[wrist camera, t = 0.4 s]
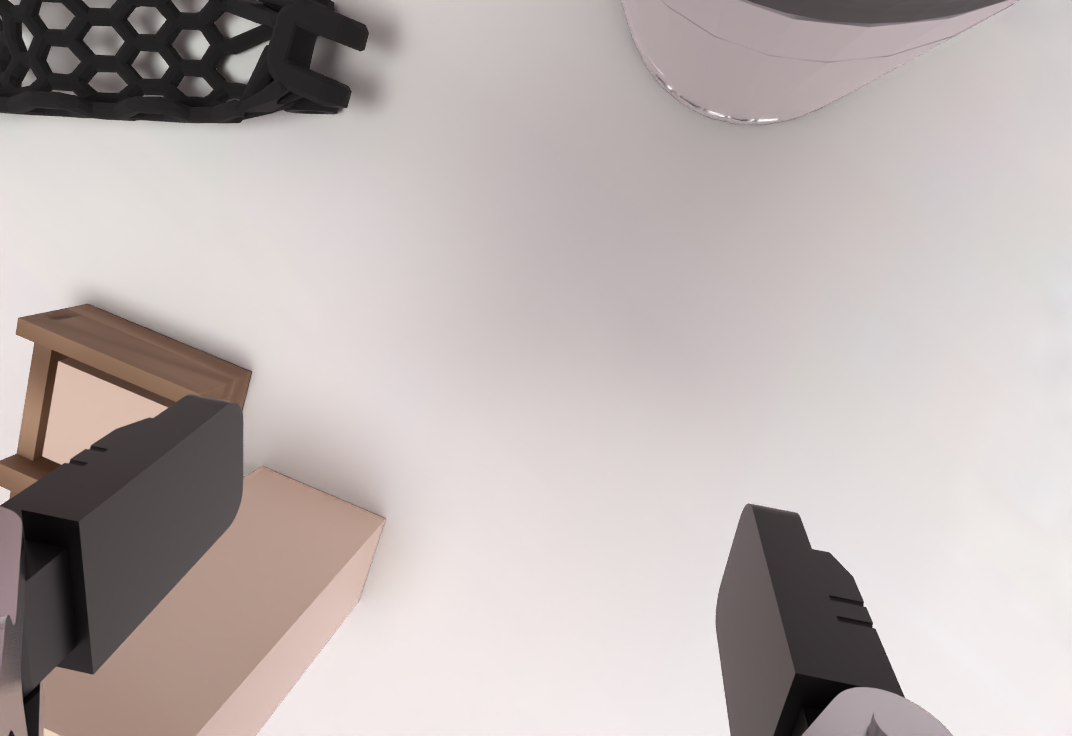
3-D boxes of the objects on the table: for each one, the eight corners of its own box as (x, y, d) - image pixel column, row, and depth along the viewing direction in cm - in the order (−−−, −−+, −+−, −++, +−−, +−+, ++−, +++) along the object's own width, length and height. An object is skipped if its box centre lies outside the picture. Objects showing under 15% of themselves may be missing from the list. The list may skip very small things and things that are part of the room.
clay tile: (91, 351, 32) (58, 361, 30) (209, 400, 31) (182, 413, 30) (75, 442, 33) (42, 456, 31) (187, 490, 33) (160, 508, 31)
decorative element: (-91, 123, 33) (-250, 112, 27) (-114, -5, 31) (-286, -43, 26) (403, 129, 29) (337, 118, 23) (399, -16, 28) (329, -64, 22)
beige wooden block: (261, 466, 33) (-57, 680, 19) (385, 518, 33) (156, 780, 18) (239, 549, 34) (-75, 809, 20) (358, 601, 34) (123, 907, 20)
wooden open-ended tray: (87, 304, 33) (18, 317, 29) (251, 371, 32) (200, 394, 29) (37, 585, 37) (-29, 627, 34) (181, 651, 36) (129, 700, 33)
